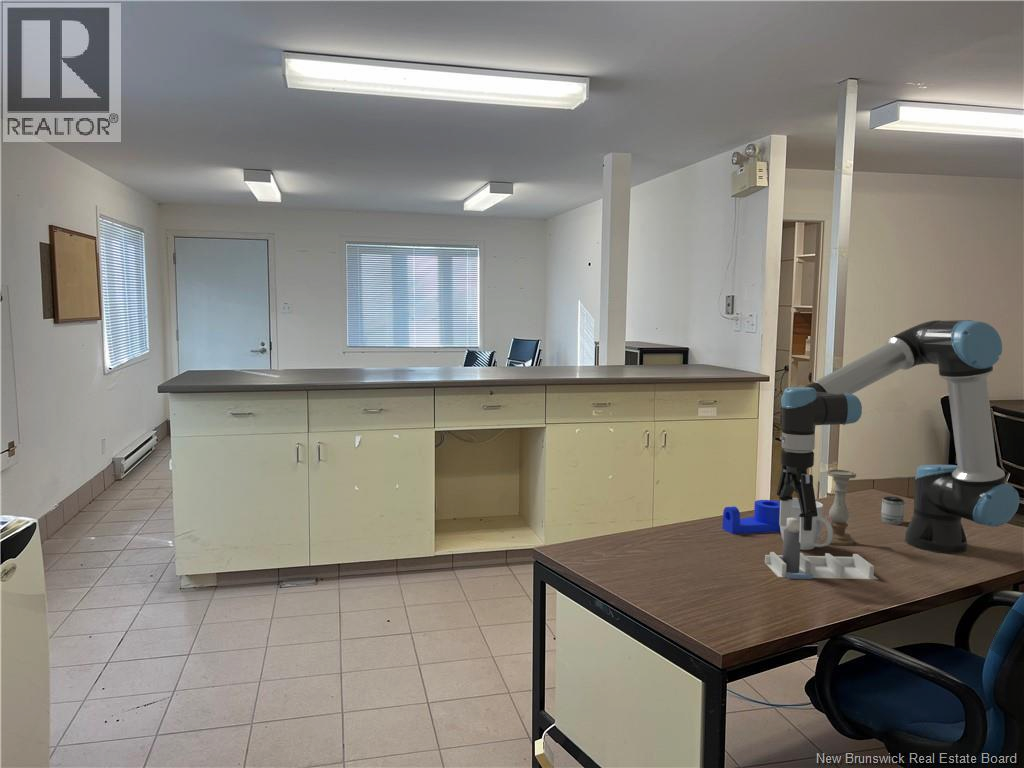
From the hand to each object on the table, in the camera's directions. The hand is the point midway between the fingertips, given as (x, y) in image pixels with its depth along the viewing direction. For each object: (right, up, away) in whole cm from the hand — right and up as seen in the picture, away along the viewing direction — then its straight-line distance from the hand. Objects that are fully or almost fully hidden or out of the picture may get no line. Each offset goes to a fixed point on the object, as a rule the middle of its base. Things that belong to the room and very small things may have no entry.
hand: (794, 534), depth 172 cm
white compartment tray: (+6, -10, +1) cm, 12 cm away
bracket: (+3, -7, +38) cm, 39 cm away
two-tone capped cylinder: (-1, -9, +1) cm, 9 cm away
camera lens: (+50, -7, +47) cm, 69 cm away
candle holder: (+23, -8, +27) cm, 37 cm away
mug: (+10, -9, +19) cm, 24 cm away
